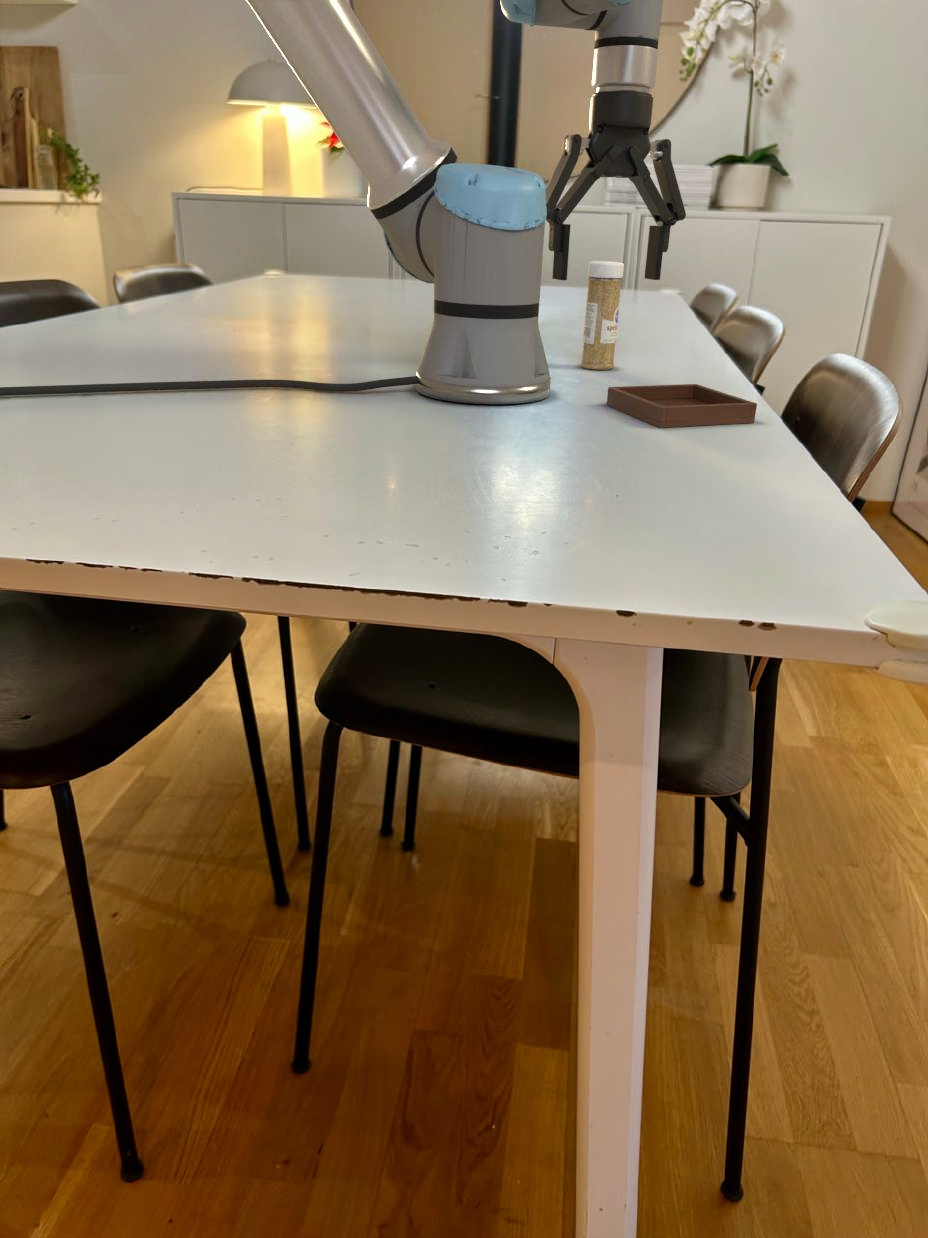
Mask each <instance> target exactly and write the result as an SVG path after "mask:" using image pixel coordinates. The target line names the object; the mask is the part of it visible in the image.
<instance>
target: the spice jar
mask: <svg viewBox="0 0 928 1238" xmlns="http://www.w3.org/2000/svg"><path fill="white" fill-rule="evenodd" d="M624 271H625V264H624V263H623V262H620V261H610V260H594V261H593V260H592V261H590V262H588V269H587V277H588V279H587V280H588V286H587V297H586V303H585V315H584V326H583V340H582V343H583V347H582V356H581V357H582V358H581V359H582V360H581V362H580V366H581V367H582V368H583V369H587V370H591V371H592V370H593V371H604V370H605V371H608V370H611V369H614V368H615V362H614V359H615V349H616V342H617V332H618V323H619V311H620V299H621V298H620V297H621V287H622V286H621V285H622V284H621V283H622V281H623V280H622V279H623V278H624Z"/></svg>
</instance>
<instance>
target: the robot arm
mask: <svg viewBox="0 0 928 1238" xmlns="http://www.w3.org/2000/svg"><path fill="white" fill-rule="evenodd" d="M246 2H247V3H248V5H249V6H250V8H251V9H252V11H253V13H254V14H255V15H256V17H257V19H258V20H259V21H260V23H261V24H262V26H263V28H264V29H265V30H266V32H267V34H268V35H269V37H270V38H271V39H272V41H273V43H274V44H275V45H276V47H277V49H278V50H279V51H280V53H281V54H282V56H283V57H284V59H285V60H286V62H287V64H288V65H289V67H290V68H291V69H292V71H293V73H294V74H295V76H296V77H297V78H298V80H299V82H300V83H301V85H302V86H303V87H304V89H305V90H306V92H307V94H308V95H309V96H310V98H311V100H312V101H313V102H314V104H315V106H316V107H317V108H318V109H317V110H318V111H319V112H320V113H321V115H322V116H323V118H324V120H325V121H326V122H327V123H328V125H329V126H330V128H331V130H332V132H333V133H334V134H335V136H336V137H337V139H338V140H339V142H340V143H341V145H342V146H343V148H344V150H346V152H347V154H348V155H349V156H350V159H351V161H352V162H353V163H354V164H355V166H356V167H357V169H358V170H359V172H360V173H361V175H362V176H363V178H364V179H365V181H366V182H367V184H368V185H367V186H368V192H367V193H368V194H367V201H366V206H367V208H368V209H369V210H370V212H371V213H372V215H373V216H374V218H375V220H376V221H377V223H378V224H379V226H380V227H381V229H382V233H383V239H384V243H385V246H386V249H387V251H388V252H389V255H390V256H391V258H392V259H393V261H394V262H395V263H396V264H397V265H398V267H400V268H401V269H402V271H404V272H405V273H406V274H408V275H409V276H410V277H413V278H414V279H416V280H419V281H421V282H423V283H425V284H433V319H432V324H431V326H430V331H429V334H428V337H427V340H426V342H425V346H424V348H423V352H422V355H421V358H420V361H419V364H418V367H417V371H416V375H413V376H402V377H393V378H385V379H377V380H371V381H363V382H356V383H329V382H317V381H306V380H294V379H229V380H228V379H225V380H223V379H222V380H221V379H220V380H188V381H186V380H185V381H183V380H182V381H157V382H156V381H150V382H148V381H147V382H119V383H91V384H89V383H88V384H61V385H59V384H58V385H57V384H56V385H29V386H27V385H26V386H25V385H24V386H0V397H8V396H11V397H13V396H39V395H67V394H68V395H69V394H94V393H97V394H98V393H122V392H123V393H124V392H151V391H155V392H156V391H183V390H185V391H186V390H216V389H217V390H221V389H247V388H248V389H249V388H251V389H252V388H273V389H274V388H275V389H278V388H280V389H281V388H283V389H296V390H297V389H299V390H307V391H319V392H335V393H336V392H337V393H339V392H340V393H346V392H347V393H348V392H350V393H351V392H361V391H369V390H375V389H383V388H393V387H400V386H409V385H411V386H412V385H415V386H416V388H415V389H416V391H417V392H418V394H421V395H423V396H426V397H428V398H432V399H435V400H436V399H437V400H442V401H448V402H455V403H463V404H476V405H477V404H478V405H513V404H525V403H526V404H527V403H533V402H537V401H541V400H544V399H546V398H548V397H549V396H550V393H551V380H552V379H551V373H550V369H549V365H548V361H547V356H546V352H545V349H544V343H543V340H542V336H541V332H540V327H539V314H540V301H541V285H542V271H543V256H544V244H545V243H544V242H545V229H546V228H545V227H546V226H545V225H546V222H547V223H548V225H549V229H548V243H547V245H548V246H547V247H548V250H549V252H553V260H552V261H553V263H552V279H553V280H559V281H567V280H568V268H569V253H570V238H571V237H570V236H571V224H569V223H564V222H566V220H567V218H568V217H569V216H570V215H571V213H572V212H573V211H574V210H575V208H576V207H577V206H578V205H579V203H580V202H581V200H582V199H584V197H585V196H586V194H587V193H588V192H589V190H590V189H591V188H592V186H593V185H594V184H595V183H596V182H597V181H598V180H599V179H600V178H616V179H629V181H630V182H631V183H633V185H634V187H635V188H636V190H637V192H638V194H639V195H640V197H641V199H642V201H643V202H644V204H645V207H646V208H647V210H648V212H649V213H650V215H651V217H652V219H653V221H654V222H655V224H656V225H649V229H648V239H647V248H646V249H647V250H646V258H645V269H644V276H643V277H644V279H646V280H653V281H660V280H661V274H662V266H663V265H662V264H663V254H664V253H667V252H668V250H669V246H670V245H669V244H670V234H671V227H673V226H675V225H676V224H677V222H679V221H684V220H685V219H686V216H687V213H686V209H685V205H684V202H683V201H684V200H683V197H682V194H681V190H680V187H679V183H678V180H677V176H676V173H675V168H674V164H673V162H672V141H671V140H670V139H669V138H663V139H656V140H654V141H650V136H649V133H650V132H649V131H650V128H651V125H652V117H653V107H654V97H653V95H652V93H650V91H651V90H653V89H654V88H655V87H656V78H657V77H656V76H657V66H658V65H657V64H658V55H659V54H658V53H659V42H660V32H661V25H662V24H661V22H662V14H663V3H664V0H499V2H500V7H501V11H502V13H503V15H504V16H505V18H506V19H507V20H509V21H510V22H512V23H518V24H524V25H528V26H530V27H533V28H534V26H538V27H539V26H540V27H551V28H564V29H575V30H584V31H594V47H593V49H594V51H593V65H592V75H591V77H592V79H591V87H592V88H593V89H594V90H595V91H596V92H594V93H593V94H592V96H590V102H589V103H590V104H589V116H588V128H589V130H588V131H589V132H588V136H587V137H584V136H582V135H581V134H579V133H576V134H568V135H566V136H565V137H564V139H563V145H562V149H561V150H562V152H561V155H560V158H559V160H558V162H557V164H556V166H555V168H554V171H553V173H552V175H551V177H550V179H549V181H548V183H547V185H546V183H545V181H544V179H543V178H542V176H540V174H538V173H537V172H534V171H531V170H527V169H522V168H518V167H508V166H503V165H494V164H486V163H485V164H484V163H468V162H463V163H462V162H461V161H460V159H459V158H458V156H457V154H456V153H455V150H454V149H453V147H452V145H451V144H450V143H449V142H448V141H444V140H439V139H435V138H433V137H430V135H429V134H428V133H427V131H426V129H425V127H424V126H423V124H422V123H421V121H420V119H419V118H418V115H417V114H416V112H415V111H414V109H413V107H412V105H411V104H410V102H409V100H408V99H407V97H406V96H405V94H404V93H403V91H402V90H401V88H400V86H399V85H398V82H397V81H396V79H395V78H394V76H393V74H392V73H391V71H390V70H389V68H388V66H387V65H386V63H385V61H384V60H383V58H382V57H381V55H380V53H379V51H378V50H377V48H376V46H375V45H374V43H373V41H372V40H371V38H370V36H369V35H368V33H367V32H366V30H365V28H364V27H363V24H361V22H360V19H358V17H357V15H356V13H355V11H354V10H353V8H352V7H351V5H350V4H349V2H348V0H246ZM584 151H585V152H586V154H587V156H588V158H589V160H588V161H587V163H586V164H585V165H584V166H583V168H582V169H581V170H580V174H579V176H578V177H577V178H576V179H575V180H574V182H573V183H572V185H571V186H570V187H569V189H568V190H567V191H566V192H565V193H564V195H563V196H562V194H563V192H564V190H565V188H566V186H567V184H568V182H569V180H570V178H571V175H572V173H573V171H574V169H575V168H576V165H577V163H578V161H579V157H580V156H582V155H583V153H584ZM648 155H649V157H650V158H651V160H652V165H653V170H654V173H655V175H656V179H657V183H658V186H659V190H660V191H659V190H658V188H657V186H656V184H655V182H654V180H653V179H652V177H651V171H650V169H649V168H648V166H647V164H646V162H645V159H646V158H647V157H648ZM561 197H562V198H561ZM560 198H561V199H560Z"/></svg>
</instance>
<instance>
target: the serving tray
mask: <svg viewBox="0 0 928 1238" xmlns="http://www.w3.org/2000/svg"><path fill="white" fill-rule="evenodd" d="M606 407H610V408H612V409H614V410H617V411H619V412H622V413H623V414H625V415H628V416H631V417H633V418H636V419H638V420H641V421H643V422H646V423H647V424H651V425H652V426H655V427H657V428H660V429H662V428H663V429H664V428H683V427H700V426H702V427H705V426H717V425H718V426H719V425H720V426H723V425H740V424H754V423H755V420H756V419H755V418H756V412H757V407H758V403H757V402H754V401H751V400H748V399H744V398H741V397H738V396H734V395H731V394H729V393H726V392H723V391H720V390H716V389H714V388H710V387H707V386H704V385H700V384H698V383H685V384H684V383H683V384H657V385H653V384H652V385H629V386H628V385H627V386H608V387H607V396H606Z"/></svg>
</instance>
